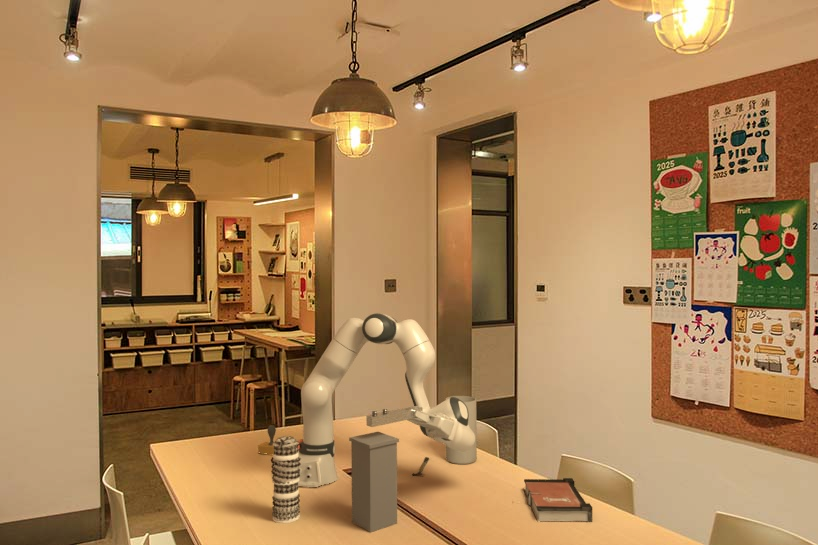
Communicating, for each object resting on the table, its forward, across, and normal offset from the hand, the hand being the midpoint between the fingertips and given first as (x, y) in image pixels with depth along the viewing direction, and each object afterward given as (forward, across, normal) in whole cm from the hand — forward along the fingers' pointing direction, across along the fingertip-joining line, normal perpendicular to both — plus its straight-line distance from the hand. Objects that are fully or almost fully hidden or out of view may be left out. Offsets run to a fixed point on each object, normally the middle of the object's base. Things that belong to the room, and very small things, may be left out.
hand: (410, 411), depth 195 cm
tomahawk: (-43, -30, +13) cm, 54 cm away
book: (-51, +26, +9) cm, 58 cm away
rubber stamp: (-10, -86, +31) cm, 92 cm away
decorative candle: (+13, -21, +45) cm, 51 cm away
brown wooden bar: (+4, 0, +5) cm, 7 cm away
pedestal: (-3, 0, +35) cm, 35 cm away
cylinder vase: (-58, -28, +4) cm, 65 cm away
